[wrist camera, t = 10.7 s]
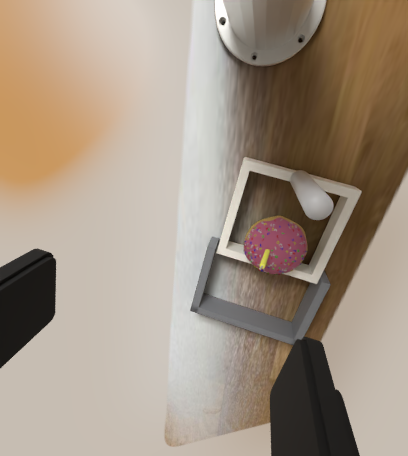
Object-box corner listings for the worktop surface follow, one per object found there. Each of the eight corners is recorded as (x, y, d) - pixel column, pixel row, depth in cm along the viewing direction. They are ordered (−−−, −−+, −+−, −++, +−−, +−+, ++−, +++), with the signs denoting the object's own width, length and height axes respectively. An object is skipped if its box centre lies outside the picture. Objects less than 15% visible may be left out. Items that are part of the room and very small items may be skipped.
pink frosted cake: (242, 253, 44) (236, 296, 33) (249, 203, 41) (245, 232, 30) (296, 262, 43) (309, 310, 32) (308, 211, 39) (327, 244, 28)
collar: (246, 152, 38) (236, 169, 24) (356, 182, 36) (417, 219, 22) (219, 244, 44) (198, 303, 29) (313, 273, 42) (339, 349, 28)
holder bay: (212, 236, 44) (207, 246, 40) (324, 270, 42) (330, 284, 39) (195, 296, 49) (190, 310, 45) (295, 329, 47) (298, 346, 43)
